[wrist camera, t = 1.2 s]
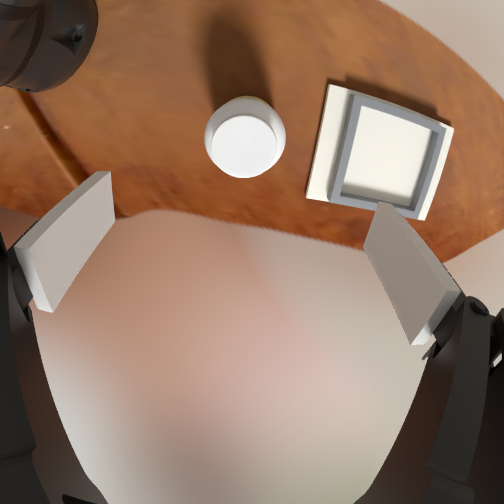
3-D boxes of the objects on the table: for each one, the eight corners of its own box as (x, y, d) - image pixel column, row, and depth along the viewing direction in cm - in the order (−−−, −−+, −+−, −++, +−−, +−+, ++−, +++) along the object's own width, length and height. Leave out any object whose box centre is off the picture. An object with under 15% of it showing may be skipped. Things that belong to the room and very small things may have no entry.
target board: (305, 195, 35) (308, 203, 33) (328, 84, 27) (333, 84, 25) (421, 217, 36) (429, 225, 34) (450, 127, 28) (460, 131, 26)
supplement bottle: (252, 162, 32) (251, 208, 22) (205, 129, 30) (178, 158, 19) (289, 118, 29) (310, 141, 19) (241, 83, 27) (233, 83, 16)
